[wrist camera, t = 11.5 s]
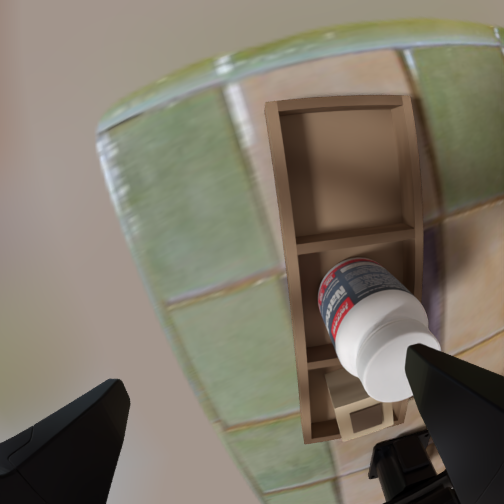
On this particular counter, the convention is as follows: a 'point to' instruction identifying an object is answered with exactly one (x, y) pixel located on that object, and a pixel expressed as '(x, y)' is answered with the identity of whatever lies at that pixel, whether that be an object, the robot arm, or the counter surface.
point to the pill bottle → (373, 325)
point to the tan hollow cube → (356, 406)
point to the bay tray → (342, 218)
